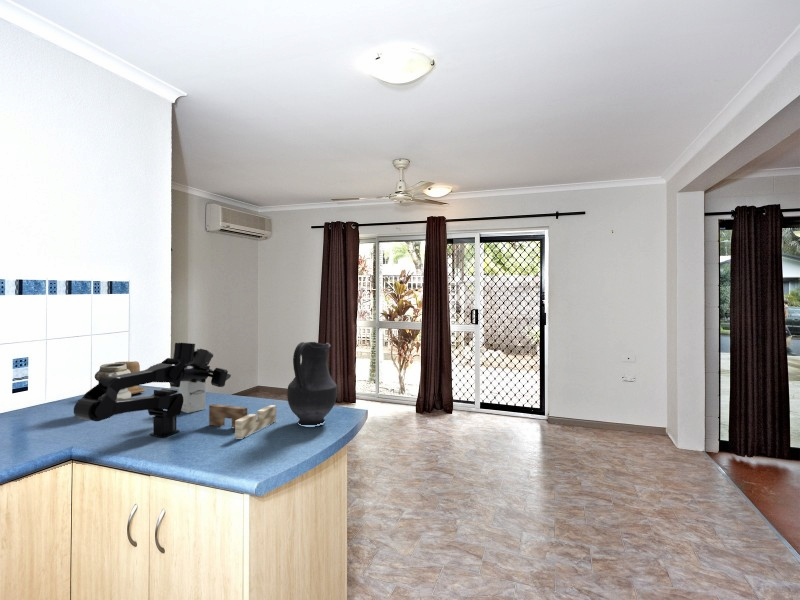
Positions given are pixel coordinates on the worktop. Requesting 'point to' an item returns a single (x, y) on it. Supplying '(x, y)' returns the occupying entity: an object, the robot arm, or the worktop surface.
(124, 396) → the apothecary jar
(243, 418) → the birch rail
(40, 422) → the worktop surface
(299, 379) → the pitcher
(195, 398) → the supplement box
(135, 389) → the curved wooden stand
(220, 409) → the walnut bar
